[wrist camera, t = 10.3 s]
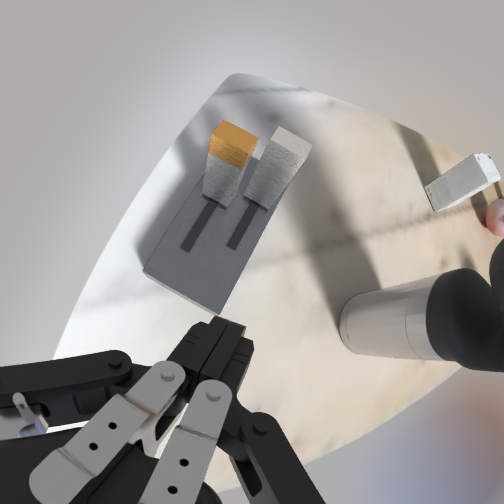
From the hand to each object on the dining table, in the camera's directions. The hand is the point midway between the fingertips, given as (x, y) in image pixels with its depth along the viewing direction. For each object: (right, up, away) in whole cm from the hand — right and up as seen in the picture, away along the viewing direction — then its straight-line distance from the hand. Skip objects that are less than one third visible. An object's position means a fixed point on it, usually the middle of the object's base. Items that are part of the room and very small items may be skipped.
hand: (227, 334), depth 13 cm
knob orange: (-3, +11, +22) cm, 25 cm away
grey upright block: (+2, +11, +23) cm, 26 cm away
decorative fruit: (+58, +11, +41) cm, 72 cm away
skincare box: (+40, +15, +38) cm, 57 cm away
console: (-3, +7, +26) cm, 27 cm away
